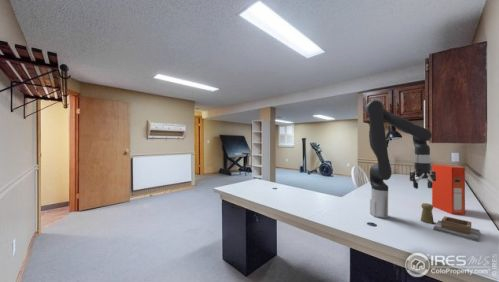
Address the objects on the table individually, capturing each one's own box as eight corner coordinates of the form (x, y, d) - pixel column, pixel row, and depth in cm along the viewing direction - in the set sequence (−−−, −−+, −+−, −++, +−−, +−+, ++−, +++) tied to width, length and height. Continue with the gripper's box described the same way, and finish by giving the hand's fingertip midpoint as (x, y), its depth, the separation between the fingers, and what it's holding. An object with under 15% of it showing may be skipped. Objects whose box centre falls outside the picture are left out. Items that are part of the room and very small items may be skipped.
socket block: (477, 241, 95) (477, 230, 95) (433, 229, 108) (433, 219, 108) (479, 232, 105) (479, 222, 105) (438, 222, 118) (438, 213, 118)
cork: (417, 219, 122) (418, 202, 122) (426, 219, 123) (426, 202, 123) (427, 223, 116) (427, 205, 116) (436, 223, 117) (436, 205, 117)
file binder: (451, 214, 133) (451, 167, 133) (431, 206, 150) (432, 164, 150) (465, 215, 132) (465, 167, 132) (443, 206, 149) (443, 164, 149)
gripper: (416, 162, 116) (416, 190, 116) (439, 162, 117) (440, 189, 117) (406, 161, 124) (406, 187, 124) (428, 161, 124) (428, 186, 124)
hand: (422, 188), depth 120 cm, fingers open, 8 cm apart
